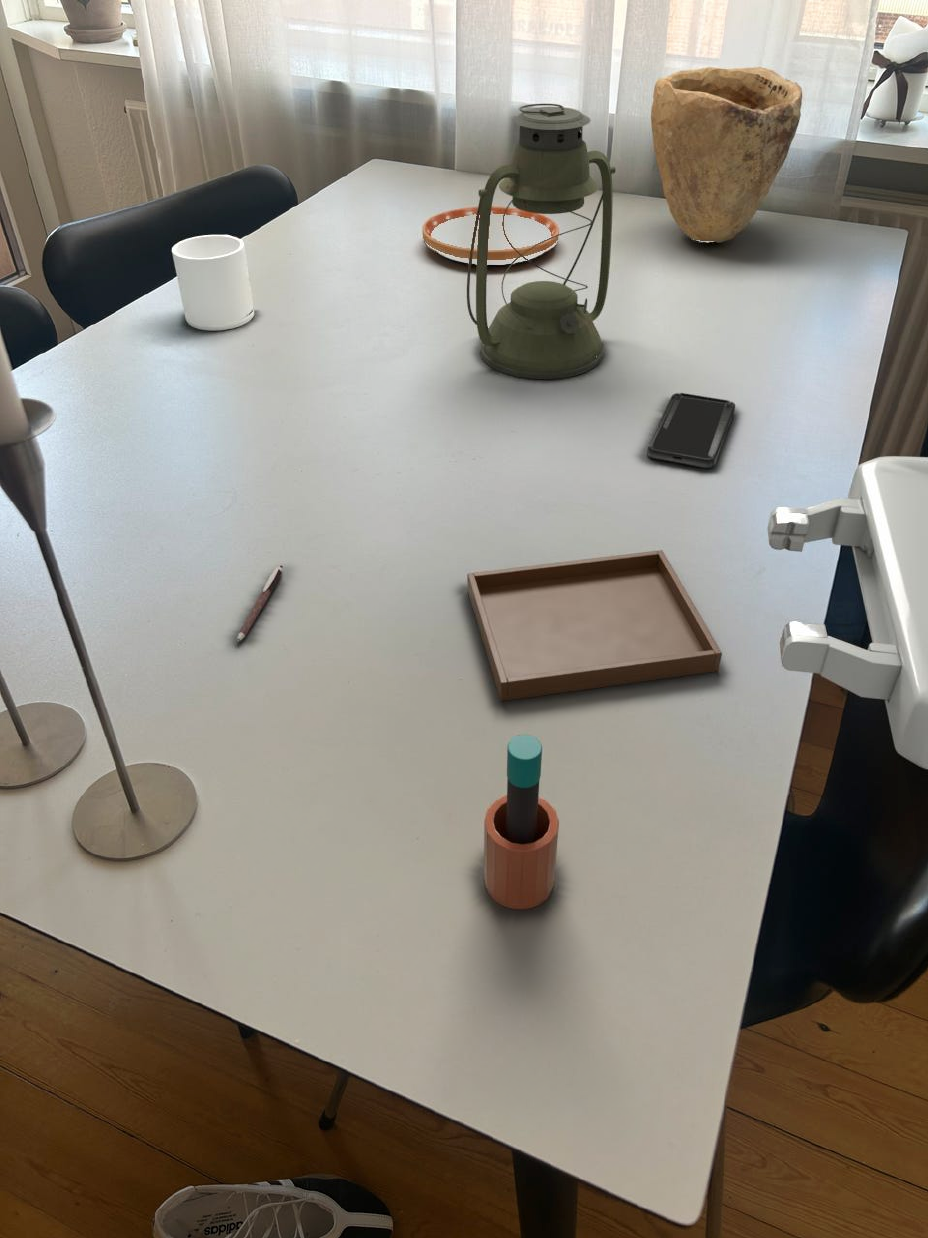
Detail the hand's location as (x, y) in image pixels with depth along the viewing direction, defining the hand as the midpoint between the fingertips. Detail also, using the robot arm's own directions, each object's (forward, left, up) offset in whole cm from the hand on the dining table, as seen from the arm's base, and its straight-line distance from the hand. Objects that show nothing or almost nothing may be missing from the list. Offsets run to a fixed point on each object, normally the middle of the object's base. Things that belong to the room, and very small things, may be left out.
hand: (775, 582), depth 48 cm
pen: (+28, -38, -28) cm, 55 cm away
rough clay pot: (-49, -123, -28) cm, 135 cm away
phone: (-23, -61, -28) cm, 71 cm away
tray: (-1, -29, -27) cm, 40 cm away
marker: (+11, -4, -27) cm, 29 cm away
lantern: (-11, -87, -28) cm, 92 cm away
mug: (+32, -109, -28) cm, 117 cm away
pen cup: (+11, -4, -27) cm, 30 cm away
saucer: (-12, -128, -28) cm, 131 cm away
